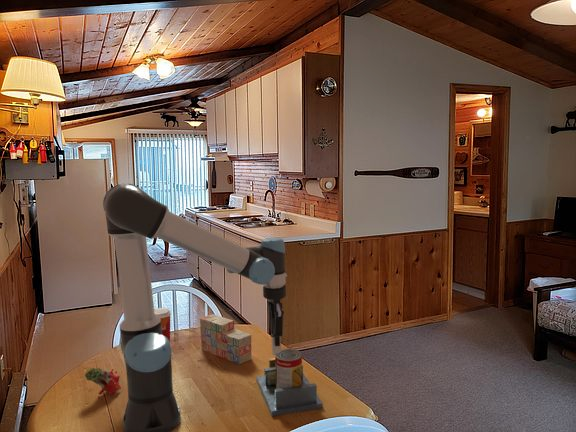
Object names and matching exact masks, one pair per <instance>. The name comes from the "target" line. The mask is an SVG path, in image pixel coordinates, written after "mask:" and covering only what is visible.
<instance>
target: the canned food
mask: <svg viewBox="0 0 576 432" xmlns="http://www.w3.org/2000/svg"><path fill="white" fill-rule="evenodd" d="M274 358H275V365H276V389H279V388H286V387H292V386H299V385H302V365H303V355H302V352H301V351H299V350H297V349H295V348H293V349H292V348H285V349H281V350H280V351H278V352H277V353H276V354H275V355H274Z"/></svg>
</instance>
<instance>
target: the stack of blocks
mask: <svg viewBox="0 0 576 432" xmlns="http://www.w3.org/2000/svg"><path fill="white" fill-rule="evenodd" d="M234 322H235V320H232V319H230V318H229V319H228V318H226V317H222V316H219V315H217V314H213V313H212V314H209V315H207V316H206V315H205V316H202V317H200V318H199V325H200V327H199V328H200V339H201V340H200V345H201V349H202V350H203V351H206V352H208V353H210V354H212V355H214V356H218V357H220V358H222V359H225V360H228V361H230V362H232V363H234V364H237V365H241V364H243V363H245V362H248V361H251V360H252V358H253V356H252V334H251V333H248V332H245V331H243V330H239V329H236V328H235V323H234Z"/></svg>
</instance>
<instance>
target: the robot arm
mask: <svg viewBox="0 0 576 432" xmlns="http://www.w3.org/2000/svg"><path fill="white" fill-rule="evenodd" d="M102 207H103V211H104V213H105V214H104V215H105V223H106V229H107V235H108V236H110V238H113V240H114V246H115V254H116V263H117V264H116V265H117V269H118V270H117V273H118V280H119V287H120V288H119V289H120V295H121V304H122V311H123V312H122V313H123V320H122V321H121V322H120V324H119V332H120V349H121V353H122V355H123V360H124V365H125V371H126V380H127V381H126V383H127V393H128V394H127V398H128V399H127V403H126V405H125V407H126V408H125V411H124V415H123V418H122V426H123V428H122V429H123V431H124V432H171V431H173V430H174V429H176V428H177V427H178V425H179V424H180V422H181V420H182V417H181V408H180V406H179V404H178V403H177V400H176V395H175V394H174V392H173V389H174V387H173V372H172V371H173V370H172V369H173V368H172V347H171V341H170V342H169V340H168V339H167V337H165V336H164V335H162V327H161V319H160V317H158V316H157V315H155V313H154V309H155V305H154V295H153V286H152V279H151V278H152V277H151V271H150V262H149V261H150V260H149V252H148V245H147V243H148V242H147V238H148V239H149V240H153V239H155V238H157V239H160V240H162V241H164V242H166V243H169V244H170V245H173V246H176V247H178V248H179V249H182V250H184V251H187V252H189V253H191V254H193V255H196V256H197V257H199V258H202V259H204V260H206V261H209V262H211V263H214V264H215V265H216V266H217V265H218V266H220V267H223V268H225V269H226V271H227V273H229V274H237V275H239V276H242V277H244V278H246V279H248V280H251V282H252V283H255V284H257V285H261V286H263V287H262V297H263V298H264V299H266V300H267V301H266V304H267V311H268V320H269V331H270V337H271V352H272V355H273V356H275V354H276V353H277V352H278V351H280V350H282V342H281V341H282V340H281V338H282V336H283V327H284V326H283V325H284V323H283V322H284V313H285V312H284V310H283V303H282V302H281V300H282V299H284V298H286V296H287V285H286V280H287V279H286V278H287V277H288V274H287V273H286V248H285V247H286V245H285V241H284V239H283V238H281V237H275V236H274V237H273V236H272V237H266V238H265V237H264V238H263V239H261V241H260V245H257V246H249V247H248V246H247V247H243V246H242V245H240V244H237V243H235V242H234V241H231V240H230V239H227V238H225V237H223V236H221V235H219V234H216V233H214V232H213V231H210V230H209V229H206V228H204V227H202V226H201V225H198V224H196V223H194V222H192V221H190V220H188V219H185V218H184V217H182V216H179V215H177V214H176V213H173V212H171V211H170V209H169V207H168V205H165V204H164V203H162V202H159V201H157V200H156V199H154V197H152V196H151V195H149V194H148V193H147V192H145V191H144V190H143V189H141V188H140V187H139V186H137V185H135V184H134V183H133V184H132V183H119V184H116V185H114V186H112V187H111V188H109V189H108V191H107V192H106V193H105V195H104V197H103V201H102Z"/></svg>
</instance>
